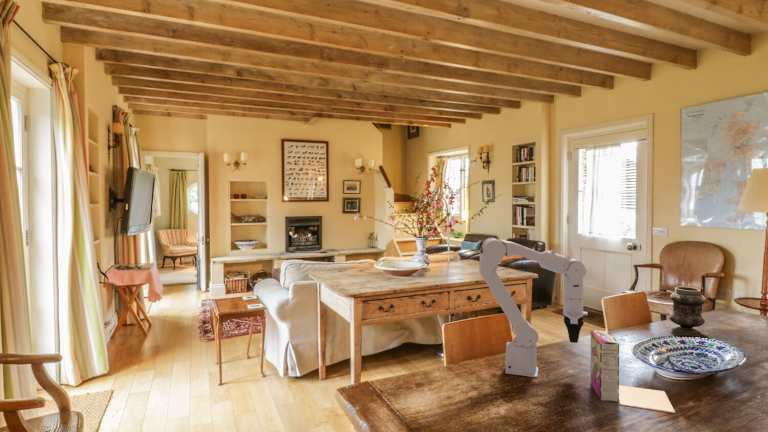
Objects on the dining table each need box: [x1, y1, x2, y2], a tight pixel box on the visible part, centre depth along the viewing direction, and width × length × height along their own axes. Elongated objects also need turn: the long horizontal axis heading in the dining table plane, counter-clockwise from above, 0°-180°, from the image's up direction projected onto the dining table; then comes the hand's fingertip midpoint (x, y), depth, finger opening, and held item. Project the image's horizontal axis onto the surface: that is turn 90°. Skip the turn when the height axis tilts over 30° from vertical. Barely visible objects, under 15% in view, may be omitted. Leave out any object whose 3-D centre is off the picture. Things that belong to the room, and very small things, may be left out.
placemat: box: [618, 384, 676, 414], centre depth 122 cm, size 12×13×1 cm
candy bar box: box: [590, 329, 620, 403], centre depth 125 cm, size 11×5×16 cm, turn 168°
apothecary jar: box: [668, 285, 706, 337], centre depth 180 cm, size 12×12×18 cm
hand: (573, 340), depth 139 cm, fingers open, 3 cm apart
